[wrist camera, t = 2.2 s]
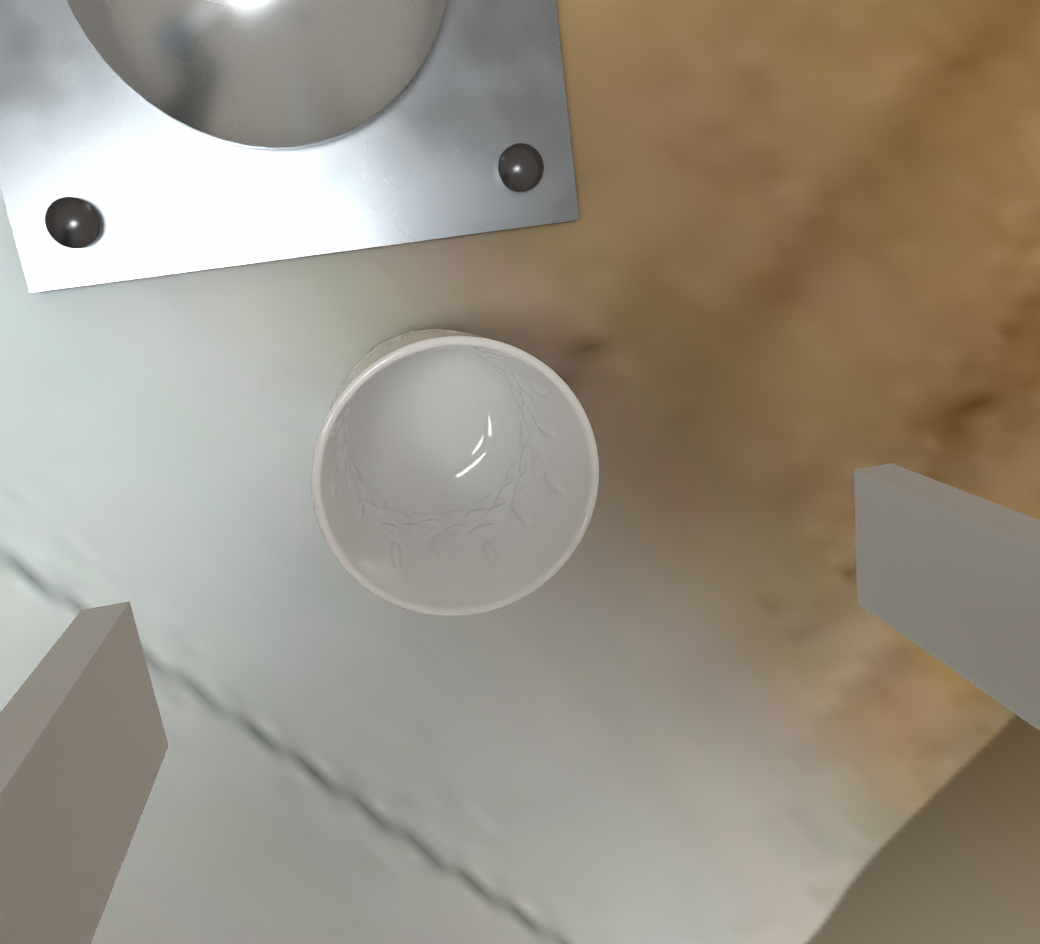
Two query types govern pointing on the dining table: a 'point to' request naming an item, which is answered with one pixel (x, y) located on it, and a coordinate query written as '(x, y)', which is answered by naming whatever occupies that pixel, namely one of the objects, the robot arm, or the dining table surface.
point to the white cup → (453, 473)
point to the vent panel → (272, 129)
